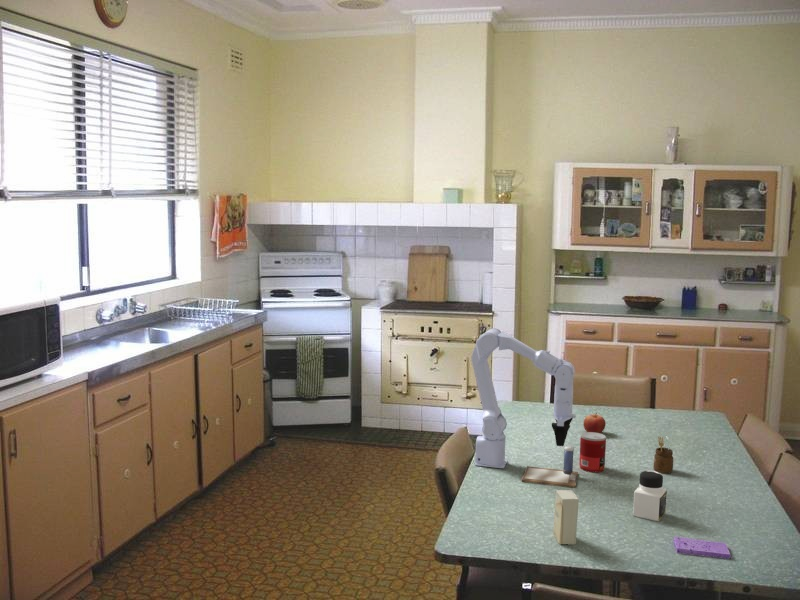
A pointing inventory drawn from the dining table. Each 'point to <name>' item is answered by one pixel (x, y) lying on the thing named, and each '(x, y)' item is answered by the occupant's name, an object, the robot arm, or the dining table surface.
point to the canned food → (592, 451)
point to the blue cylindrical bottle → (568, 460)
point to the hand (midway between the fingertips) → (561, 442)
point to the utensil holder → (663, 459)
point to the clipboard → (549, 477)
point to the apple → (594, 423)
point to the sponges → (701, 547)
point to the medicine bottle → (650, 496)
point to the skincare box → (565, 517)
